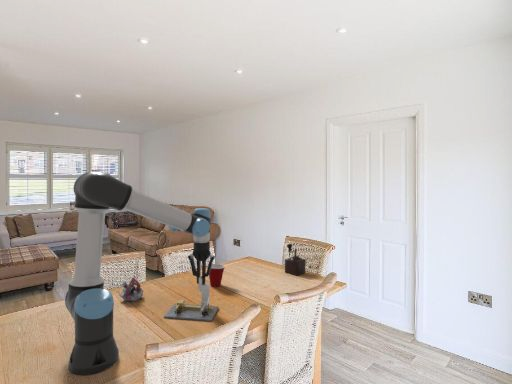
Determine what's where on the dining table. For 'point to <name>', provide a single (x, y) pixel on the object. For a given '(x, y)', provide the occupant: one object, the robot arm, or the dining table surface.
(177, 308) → the gauge rail
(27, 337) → the dining table surface
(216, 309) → the bolt plate
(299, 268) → the dark box with lever
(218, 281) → the plastic cup
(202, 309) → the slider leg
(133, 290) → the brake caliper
